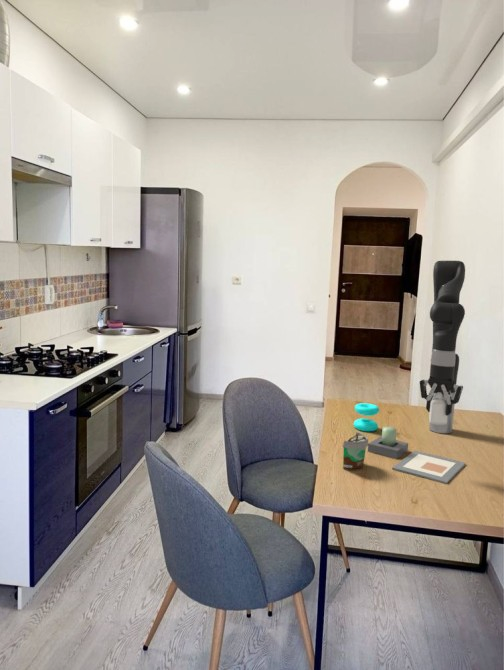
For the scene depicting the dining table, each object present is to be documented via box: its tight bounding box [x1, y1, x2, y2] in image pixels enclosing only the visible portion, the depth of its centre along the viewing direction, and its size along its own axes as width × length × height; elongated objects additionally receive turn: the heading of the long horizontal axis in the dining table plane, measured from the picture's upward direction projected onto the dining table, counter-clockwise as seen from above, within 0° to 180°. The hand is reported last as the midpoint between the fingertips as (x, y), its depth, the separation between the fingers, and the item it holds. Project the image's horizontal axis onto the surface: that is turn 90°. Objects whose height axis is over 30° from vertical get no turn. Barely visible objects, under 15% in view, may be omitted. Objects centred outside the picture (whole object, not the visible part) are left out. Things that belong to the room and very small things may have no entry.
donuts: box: [353, 402, 380, 432], centre depth 220 cm, size 10×10×10 cm
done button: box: [381, 426, 397, 447], centre depth 194 cm, size 5×5×6 cm
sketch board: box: [391, 450, 467, 485], centre depth 180 cm, size 22×18×1 cm
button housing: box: [367, 435, 409, 460], centre depth 194 cm, size 11×11×3 cm
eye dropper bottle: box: [428, 392, 448, 425], centre depth 175 cm, size 4×6×12 cm
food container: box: [342, 432, 369, 471], centre depth 177 cm, size 12×6×10 cm, turn 148°
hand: (438, 413), depth 175 cm, fingers closed on eye dropper bottle, 5 cm apart
